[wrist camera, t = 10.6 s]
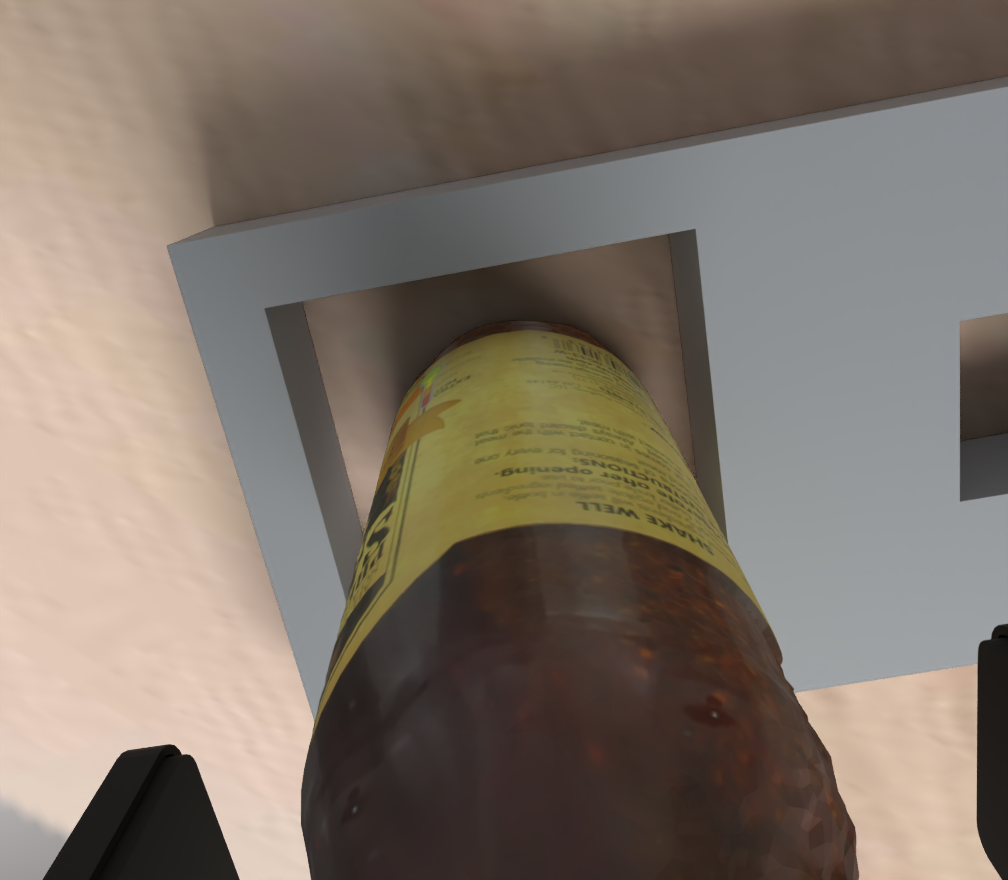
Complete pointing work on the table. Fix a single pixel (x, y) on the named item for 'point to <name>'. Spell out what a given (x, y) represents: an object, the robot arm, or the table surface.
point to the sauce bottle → (556, 650)
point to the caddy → (693, 361)
